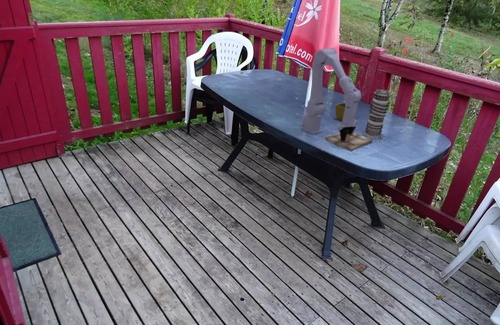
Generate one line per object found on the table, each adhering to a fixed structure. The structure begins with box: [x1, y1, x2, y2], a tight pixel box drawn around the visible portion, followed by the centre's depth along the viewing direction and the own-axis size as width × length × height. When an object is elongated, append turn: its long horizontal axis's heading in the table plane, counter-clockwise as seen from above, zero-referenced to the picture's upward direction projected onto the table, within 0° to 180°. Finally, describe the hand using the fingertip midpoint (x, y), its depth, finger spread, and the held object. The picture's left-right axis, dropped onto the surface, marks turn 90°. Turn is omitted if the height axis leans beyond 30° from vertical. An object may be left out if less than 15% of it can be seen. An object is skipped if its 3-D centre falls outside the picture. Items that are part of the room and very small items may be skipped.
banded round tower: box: [364, 88, 391, 139], centre depth 191 cm, size 9×9×25 cm
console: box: [325, 132, 373, 152], centre depth 187 cm, size 16×19×2 cm
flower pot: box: [334, 102, 345, 122], centre depth 214 cm, size 9×9×9 cm
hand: (344, 139), depth 183 cm, fingers closed on fader, 3 cm apart
